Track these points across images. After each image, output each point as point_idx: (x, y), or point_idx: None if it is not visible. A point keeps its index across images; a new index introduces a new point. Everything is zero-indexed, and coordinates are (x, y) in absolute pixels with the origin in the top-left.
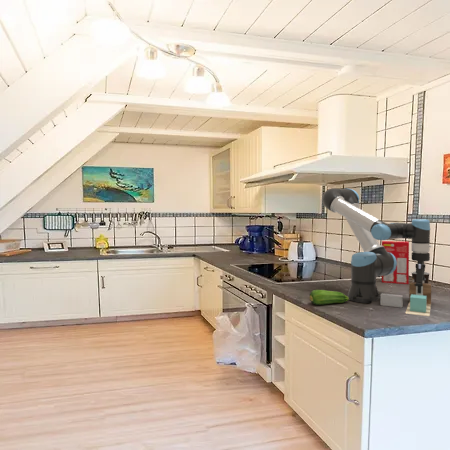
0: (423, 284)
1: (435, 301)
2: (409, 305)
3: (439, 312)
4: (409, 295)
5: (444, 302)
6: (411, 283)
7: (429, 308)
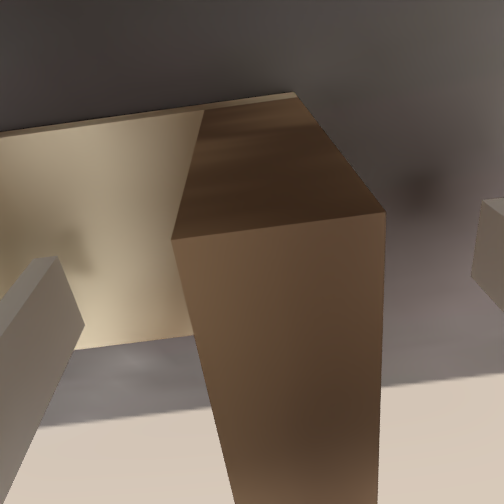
0: (233, 489)
1: (495, 309)
2: (6, 156)
3: (78, 390)
4: (200, 138)
5: (481, 370)
6: (186, 290)
7: None
